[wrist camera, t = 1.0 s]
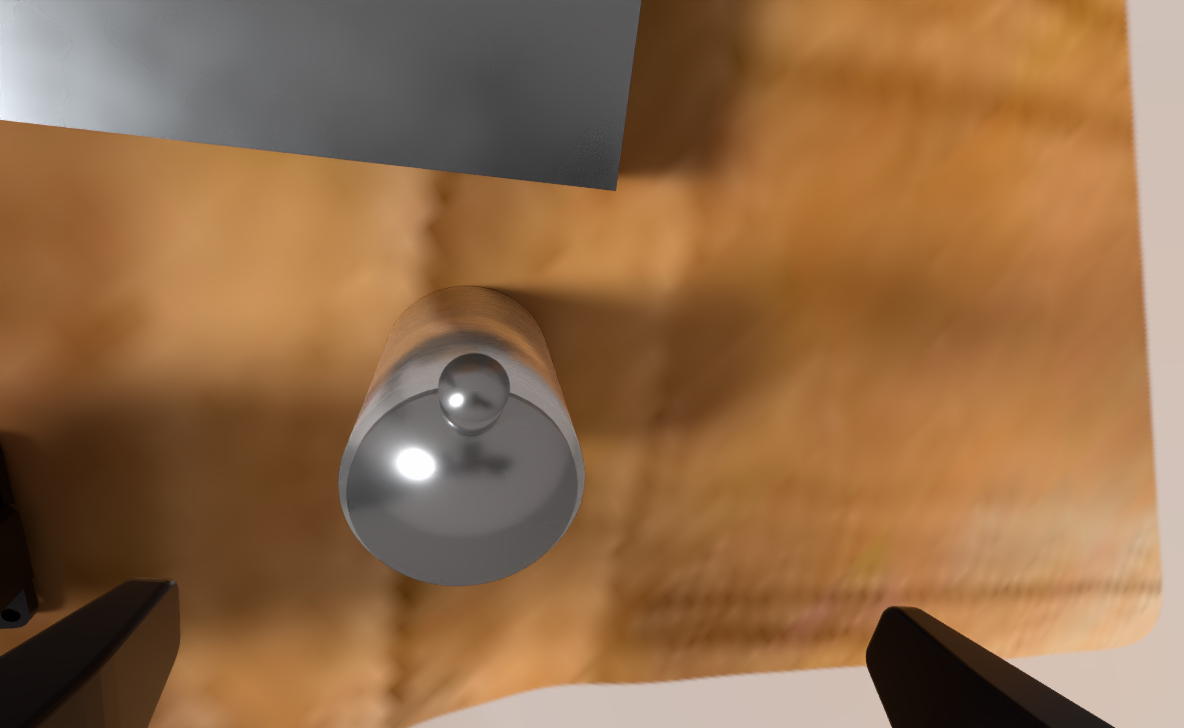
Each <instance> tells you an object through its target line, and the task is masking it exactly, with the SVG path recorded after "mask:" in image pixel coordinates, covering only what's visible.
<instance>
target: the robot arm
mask: <svg viewBox="0 0 1184 728" xmlns="http://www.w3.org/2000/svg"><path fill="white" fill-rule="evenodd" d="M33 577H34V576H33V571H32V567H31V562H30V558H29V554H28V549H27V545H26V541H25V536H24V532H23V527H22V523H21V519H20V514H19V511H18V510H17V509H16V507H15V503H14V498H13V494H12V490H11V485H10V481H9V477H8V473H7V468H6V464H5V460H4V455H3V451H2V449H1V447H0V629H6V628H18V627H22V626H24V625H26V624H27V623H28V622H29V621H30V620H31V618H32V617H33V616H34V615H35V614H36V612H37V611H38V602H37V598H36V594H35V589H34V585H33V581H32V580H33ZM12 609H14V610H16V611H18V612H15V611H14V610H12ZM179 645H180V611H179V589H178V585H177V583H176V582H175V581H174V580H173V579H170V578H153V577H135V578H131V579H129V580H127V581H125V582H123V583H121V584H120V585H118V586H116V587H115V588H113V589H111V590H110V591H108V592H106V593H105V594H103V595H101V596H100V597H98V598H96V599H95V600H93V601H91V602H90V603H88V604H86V605H85V606H83V607H81V608H80V609H78V610H77V611H75V612H73V613H72V614H70V615H68V616H67V617H65V618H63V619H62V620H60V621H58V622H57V623H55V624H53V625H52V626H50V627H48V628H47V629H45V630H43V631H42V632H40V633H38V634H37V635H35V636H33V637H32V638H30V639H28V640H27V641H25V642H23V643H22V644H20V645H18V646H17V647H15V648H13V649H12V650H10V651H8V652H7V653H5V654H3V655H2V656H0V728H148V726H149V723H150V721H151V718H152V716H153V714H154V711H155V709H156V706H157V704H158V701H159V699H160V696H161V694H162V692H163V689H164V687H165V684H166V682H167V679H168V677H169V674H170V672H171V669H172V667H173V665H174V662H175V659H176V656H177V653H178V649H179ZM866 664H867V668H868V671H869V673H870V676H871V678H872V680H873V683H874V685H875V688H876V690H877V693H878V695H879V697H880V700H881V702H882V704H883V707H884V709H885V712H886V714H887V717H888V719H889V721H890V724H891V726H892V728H1115V727H1113V726H1112V725H1110V724H1108V723H1107V722H1105V721H1103V720H1102V719H1100V718H1098V717H1097V716H1095V715H1093V714H1092V713H1090V712H1089V711H1087V710H1085V709H1084V708H1081V707H1080V706H1078V705H1077V704H1075V703H1074V702H1072V701H1070V700H1069V699H1067V698H1065V697H1064V696H1062V695H1061V694H1059V693H1057V692H1056V691H1054V690H1052V689H1051V688H1049V687H1047V686H1045V685H1044V684H1042V683H1041V682H1039V681H1038V680H1036V679H1034V678H1033V677H1031V676H1029V675H1028V674H1026V673H1024V672H1023V671H1021V670H1019V669H1018V668H1016V667H1015V666H1013V665H1011V664H1010V663H1008V662H1006V661H1005V660H1003V659H1001V658H1000V657H998V656H996V655H995V654H993V653H992V652H990V651H988V650H987V649H985V648H983V647H982V646H980V645H978V644H977V643H975V642H973V641H972V640H970V639H968V638H967V637H965V636H964V635H962V634H960V633H959V632H957V631H955V630H954V629H952V628H950V627H949V626H947V625H945V624H944V623H942V622H941V621H939V620H937V619H936V618H934V617H932V616H931V615H929V614H927V613H926V612H924V611H922V610H921V609H918V608H915V607H905V606H891V607H888V608H887V609H886V610H885V611H884V612H883V613H882V615H881V618H880V620H879V622H878V624H877V627H876V629H875V631H874V633H873V636H872V638H871V640H870V642H869V645H868V647H867V650H866Z"/></svg>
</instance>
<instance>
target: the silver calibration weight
mask: <svg viewBox="0 0 1184 728" xmlns="http://www.w3.org/2000/svg"><path fill="white" fill-rule="evenodd" d="M584 482H585V470H584V460H583V456H582V452H581V448H580V445H579V442H578V439H577V436H576V433H575V430H574V427H573V424H572V421H571V418H570V415H569V411H568V408H567V405H566V402H565V399H564V396H563V393H562V390H561V387H560V384H559V381H558V378H557V375H556V372H555V369H554V366H553V363H552V360H551V357H550V354H549V350H548V347H547V344H546V341H545V339H544V336H543V334H542V331H541V329H540V328H539V326H538V324H537V322H536V321H535V320H534V318H533V317H532V316H531V314H530V313H529V312H528V311H527V310H526V309H525V308H524V307H523V306H521V305H520V304H519V303H517V302H516V301H515V300H513V299H511V298H510V297H508V296H506V295H504V294H502V293H499V292H497V291H494V290H491V289H487V288H482V287H475V286H457V287H450V288H445V289H441V290H438V291H436V292H433V293H430V294H428V295H426V296H424V297H423V298H421V299H419V300H418V301H416V302H415V303H414V304H412V305H411V306H410V307H409V308H408V309H407V310H406V311H405V312H404V313H403V314H402V315H401V316H400V318H399V319H398V320H397V321H396V323H395V325H394V327H393V328H392V330H391V332H390V335H389V338H388V340H387V343H386V345H385V348H384V350H383V353H382V356H381V358H380V361H379V363H378V366H377V368H376V371H375V374H374V376H373V379H372V381H371V384H370V386H369V389H368V392H367V394H366V397H365V399H364V402H363V405H362V407H361V410H360V412H359V415H358V417H357V420H356V423H355V425H354V428H353V430H352V433H351V435H350V438H349V441H348V443H347V446H346V448H345V451H344V454H343V456H342V460H341V465H340V469H339V480H338V488H339V498H340V503H341V506H342V510H343V514H344V516H345V518H346V520H347V523H348V525H349V527H350V528H351V530H352V531H353V533H354V535H355V536H356V538H357V539H358V540H359V541H360V542H361V543H362V545H363V546H364V547H365V548H366V549H367V550H368V551H369V552H370V553H372V554H373V555H374V556H375V557H376V558H377V559H379V560H380V561H382V562H383V563H384V564H386V565H387V566H389V567H390V568H392V569H393V570H395V571H397V572H399V573H401V574H403V575H405V576H408V577H411V578H413V579H416V580H419V581H423V582H427V583H431V584H438V585H445V586H468V585H477V584H483V583H489V582H492V581H496V580H499V579H502V578H505V577H507V576H510V575H512V574H515V573H517V572H519V571H520V570H522V569H524V568H526V567H528V566H529V565H531V564H532V563H534V562H535V561H537V560H538V559H539V558H540V557H542V556H543V555H544V554H545V553H546V552H548V551H549V550H550V549H551V548H552V547H553V546H554V545H555V544H556V543H557V542H558V541H559V540H560V539H561V538H562V536H563V535H564V534H565V532H566V531H567V529H568V528H569V527H570V525H571V523H572V521H573V520H574V518H575V516H576V514H577V511H578V509H579V506H580V503H581V500H582V495H583V491H584Z"/></svg>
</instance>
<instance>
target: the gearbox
mask: <svg viewBox="0 0 1184 728" xmlns="http://www.w3.org/2000/svg"><path fill="white" fill-rule="evenodd" d="M640 7H641V0H0V120H8V121H16V122H25V123H34V124H42V125H51V126H60V127H68V128H77V129H86V130H94V131H103V132H111V133H120V134H129V135H137V136H146V137H155V138H163V139H172V140H181V141H189V142H198V143H206V144H215V145H224V146H232V147H241V148H250V149H258V150H267V151H276V152H284V153H293V154H301V155H310V156H319V157H327V158H336V159H345V160H353V161H362V162H371V163H379V164H388V165H397V166H405V167H414V168H422V169H431V170H440V171H448V172H457V173H466V174H474V175H483V176H492V177H500V178H509V179H517V180H526V181H535V182H543V183H552V184H561V185H569V186H578V187H587V188H595V189H604V190H612V191H616V186H617V178H618V171H619V164H620V156H621V149H622V141H623V134H624V126H625V119H626V111H627V104H628V97H629V89H630V82H631V74H632V67H633V59H634V52H635V44H636V37H637V29H638V22H639V15H640Z"/></svg>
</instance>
